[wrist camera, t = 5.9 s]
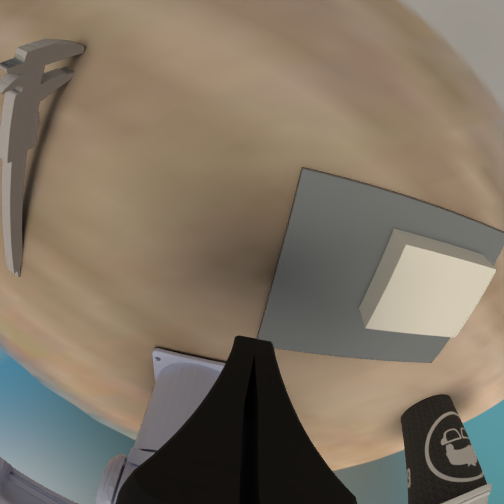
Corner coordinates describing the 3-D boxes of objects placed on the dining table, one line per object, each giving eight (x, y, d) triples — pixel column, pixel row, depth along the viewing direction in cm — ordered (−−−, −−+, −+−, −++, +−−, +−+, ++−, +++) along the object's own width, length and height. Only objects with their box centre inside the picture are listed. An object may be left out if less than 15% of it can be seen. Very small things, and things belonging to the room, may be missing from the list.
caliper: (78, 41, 12) (6, 36, 7) (90, 46, 12) (17, 40, 7) (15, 268, 21) (-25, 309, 16) (22, 275, 21) (-17, 316, 16)
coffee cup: (382, 409, 26) (401, 536, 13) (462, 374, 23) (503, 494, 10) (394, 436, 30) (409, 535, 17) (460, 408, 27) (487, 504, 14)
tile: (358, 307, 19) (445, 319, 19) (365, 328, 17) (455, 337, 17) (393, 227, 16) (482, 254, 16) (405, 244, 14) (496, 269, 14)
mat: (430, 359, 22) (431, 362, 22) (256, 341, 22) (255, 344, 21) (505, 232, 16) (508, 235, 15) (302, 167, 15) (302, 168, 15)
